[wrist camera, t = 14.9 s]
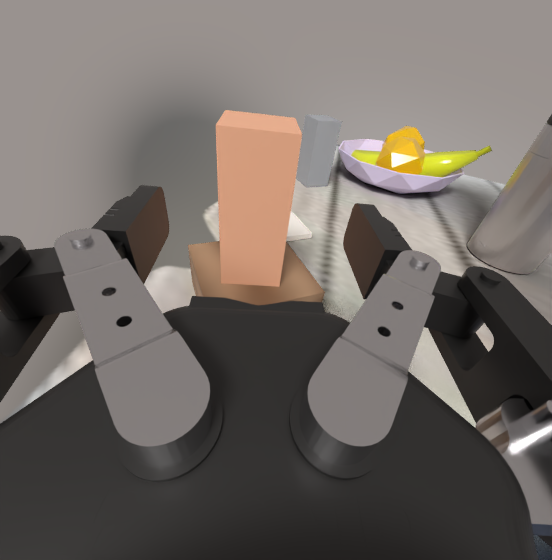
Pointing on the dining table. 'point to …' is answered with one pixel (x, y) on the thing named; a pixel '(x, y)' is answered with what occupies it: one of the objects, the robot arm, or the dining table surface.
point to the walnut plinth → (292, 285)
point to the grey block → (317, 150)
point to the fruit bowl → (404, 162)
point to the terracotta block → (255, 194)
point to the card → (297, 229)
